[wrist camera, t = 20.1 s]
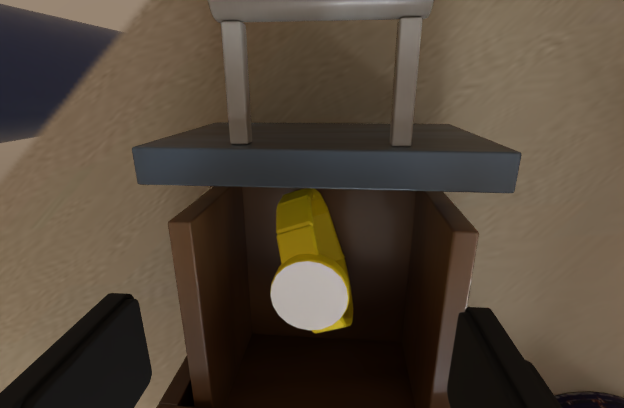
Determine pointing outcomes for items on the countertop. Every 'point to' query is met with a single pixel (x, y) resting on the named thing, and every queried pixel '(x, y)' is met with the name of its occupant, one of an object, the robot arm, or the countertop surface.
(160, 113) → the countertop surface
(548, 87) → the countertop surface
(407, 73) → the drawer
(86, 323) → the robot arm
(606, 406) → the storage jar
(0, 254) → the countertop surface
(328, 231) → the watch
